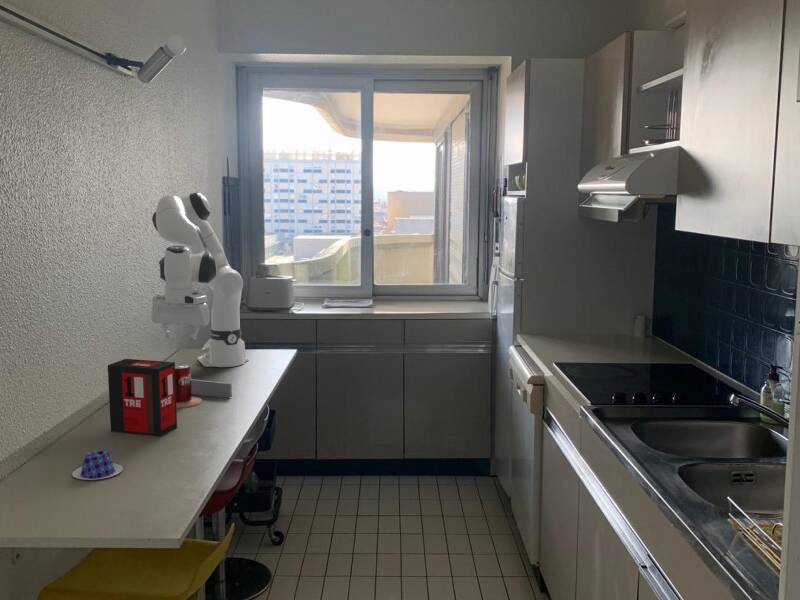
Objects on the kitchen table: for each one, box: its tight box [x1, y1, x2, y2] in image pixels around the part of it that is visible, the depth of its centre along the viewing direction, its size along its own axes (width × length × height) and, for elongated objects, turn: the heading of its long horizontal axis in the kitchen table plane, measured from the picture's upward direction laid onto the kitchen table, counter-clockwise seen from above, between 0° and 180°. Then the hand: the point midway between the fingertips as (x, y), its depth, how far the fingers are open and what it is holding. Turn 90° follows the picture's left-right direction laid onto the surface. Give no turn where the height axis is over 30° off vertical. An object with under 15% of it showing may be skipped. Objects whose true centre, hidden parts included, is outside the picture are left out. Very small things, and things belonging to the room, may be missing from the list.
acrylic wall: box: [191, 378, 233, 398], centre depth 278 cm, size 24×1×5 cm, turn 70°
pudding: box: [71, 450, 124, 481], centre depth 204 cm, size 12×12×5 cm
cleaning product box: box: [107, 358, 178, 438], centre depth 238 cm, size 16×9×20 cm, turn 74°
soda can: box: [175, 363, 193, 404], centre depth 268 cm, size 7×7×12 cm
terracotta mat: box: [176, 396, 203, 409], centre depth 269 cm, size 13×13×1 cm
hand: (181, 338), depth 265 cm, fingers open, 8 cm apart
